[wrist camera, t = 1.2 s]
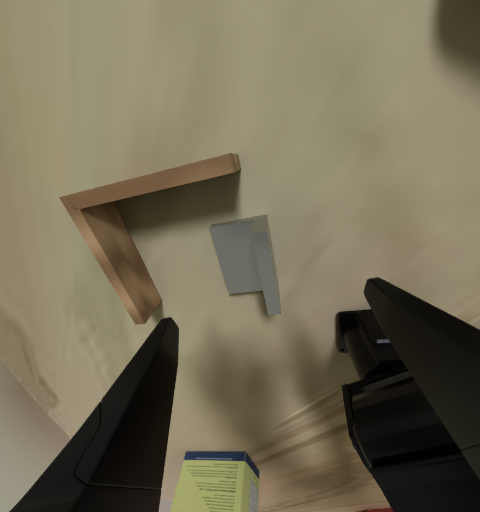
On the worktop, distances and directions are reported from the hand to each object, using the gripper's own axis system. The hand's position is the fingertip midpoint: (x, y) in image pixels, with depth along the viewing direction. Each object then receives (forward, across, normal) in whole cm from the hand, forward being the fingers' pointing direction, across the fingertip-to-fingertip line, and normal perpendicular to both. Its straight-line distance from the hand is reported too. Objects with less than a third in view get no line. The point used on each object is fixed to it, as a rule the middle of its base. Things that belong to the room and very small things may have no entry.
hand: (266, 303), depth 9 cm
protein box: (+2, +17, +58) cm, 60 cm away
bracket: (+11, +1, +6) cm, 12 cm away
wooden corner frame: (+12, +7, +3) cm, 14 cm away
